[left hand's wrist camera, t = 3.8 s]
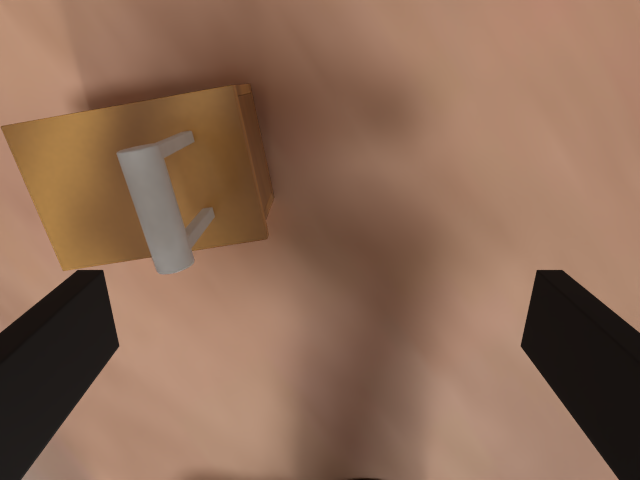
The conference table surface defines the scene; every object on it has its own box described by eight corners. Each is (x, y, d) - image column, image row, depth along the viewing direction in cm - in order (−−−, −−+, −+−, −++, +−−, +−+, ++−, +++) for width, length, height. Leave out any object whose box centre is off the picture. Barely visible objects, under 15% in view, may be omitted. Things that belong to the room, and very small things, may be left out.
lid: (235, 84, 25) (194, 89, 17) (269, 234, 28) (248, 299, 20) (10, 124, 26) (-136, 148, 17) (70, 265, 29) (-28, 340, 21)
